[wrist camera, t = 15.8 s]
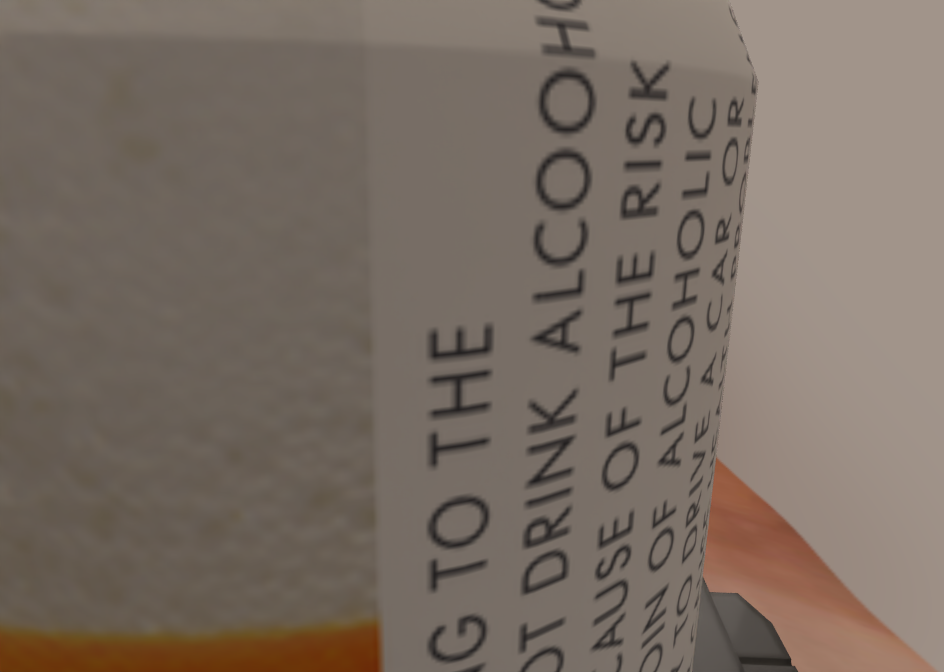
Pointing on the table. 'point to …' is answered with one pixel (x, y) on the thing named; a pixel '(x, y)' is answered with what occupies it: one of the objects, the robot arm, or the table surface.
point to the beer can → (363, 331)
